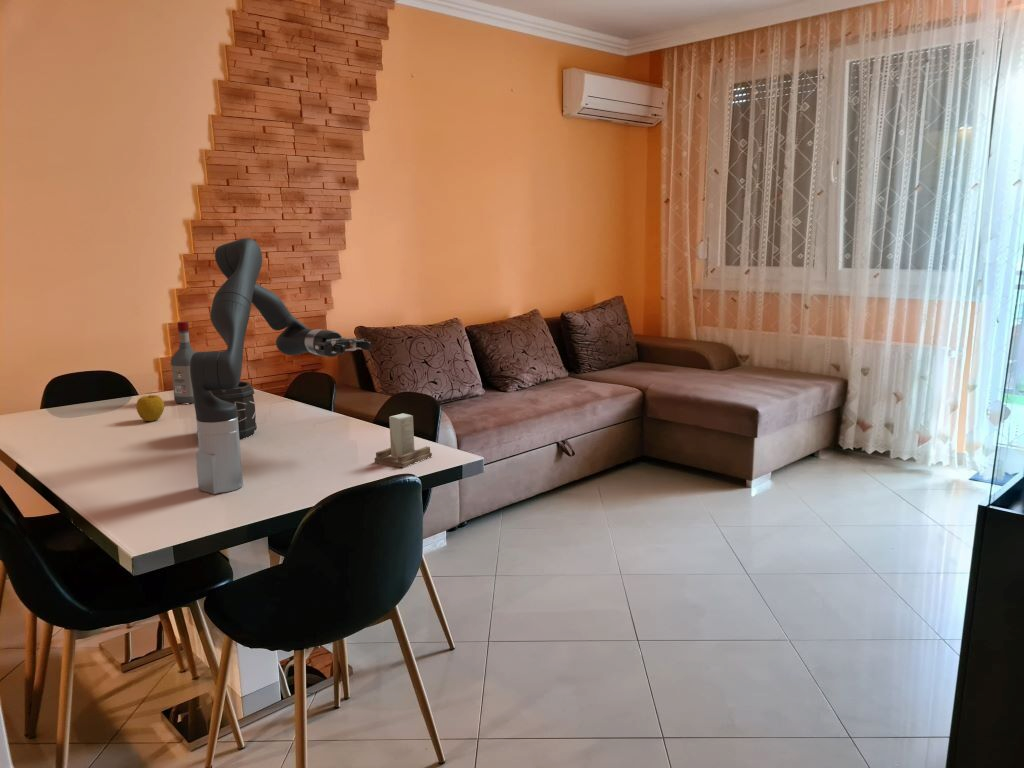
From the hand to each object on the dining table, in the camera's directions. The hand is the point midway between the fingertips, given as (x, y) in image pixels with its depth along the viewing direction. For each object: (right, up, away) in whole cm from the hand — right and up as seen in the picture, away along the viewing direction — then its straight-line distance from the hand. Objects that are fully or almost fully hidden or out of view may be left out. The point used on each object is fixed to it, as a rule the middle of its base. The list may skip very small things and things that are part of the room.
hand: (357, 347), depth 204 cm
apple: (-79, -23, +46) cm, 94 cm away
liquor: (-79, -17, +77) cm, 112 cm away
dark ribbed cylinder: (-45, -26, +27) cm, 59 cm away
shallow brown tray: (+13, -31, -1) cm, 33 cm away
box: (+13, -30, -1) cm, 32 cm away
